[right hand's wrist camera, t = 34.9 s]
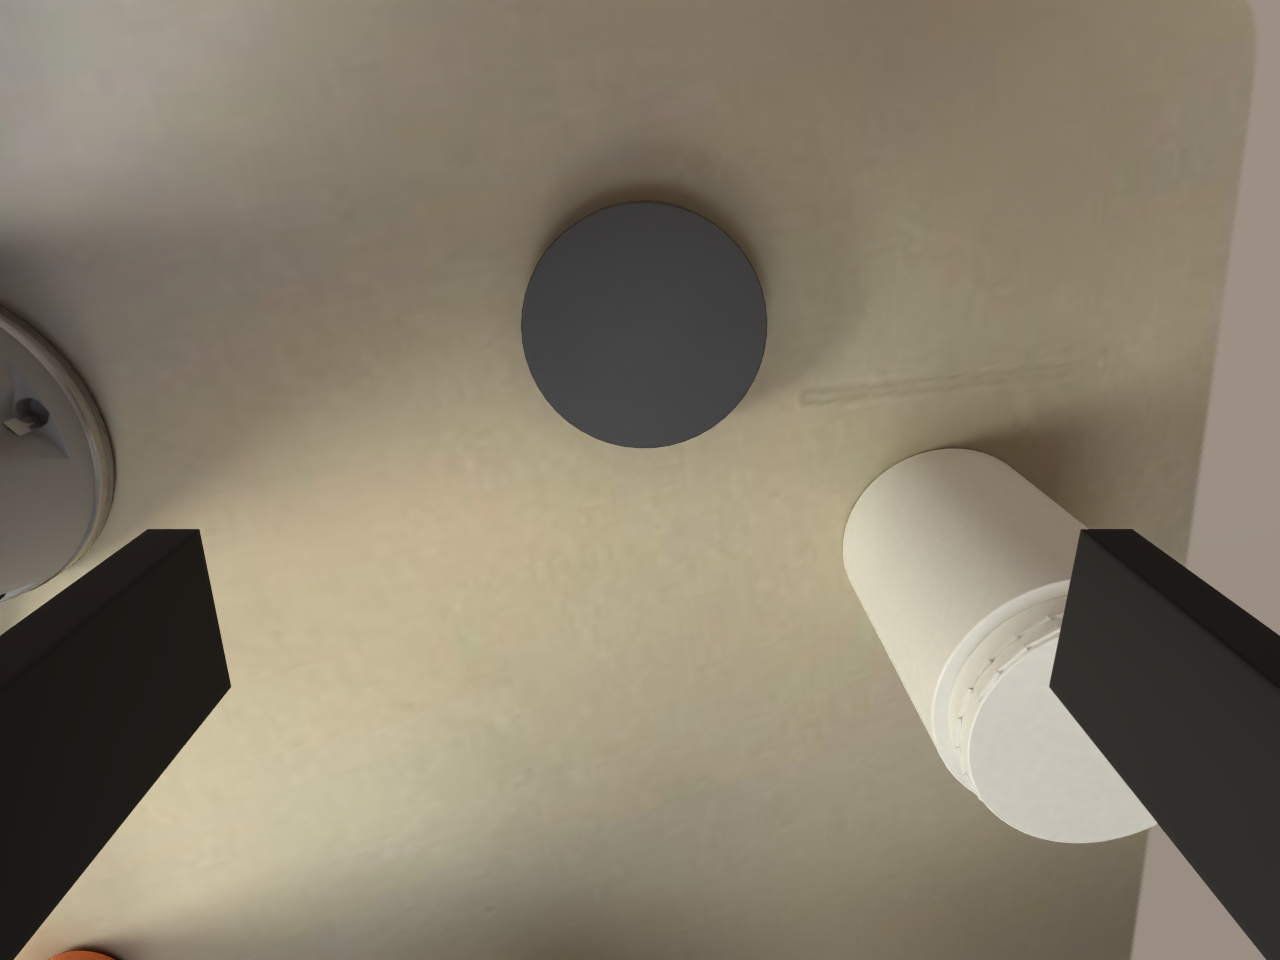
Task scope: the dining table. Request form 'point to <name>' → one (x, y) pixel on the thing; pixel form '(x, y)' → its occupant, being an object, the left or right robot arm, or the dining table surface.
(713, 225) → the lid
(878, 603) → the jar
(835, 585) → the dining table surface
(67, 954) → the cup with straw
